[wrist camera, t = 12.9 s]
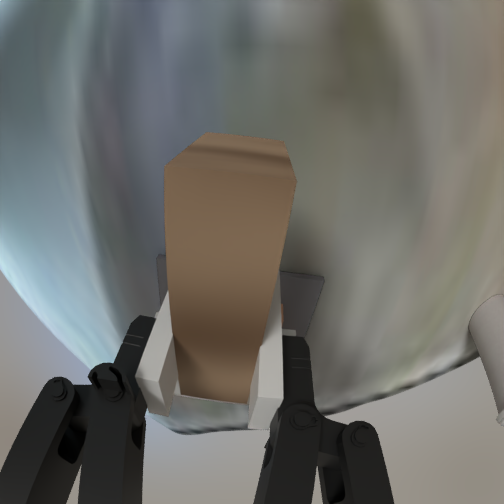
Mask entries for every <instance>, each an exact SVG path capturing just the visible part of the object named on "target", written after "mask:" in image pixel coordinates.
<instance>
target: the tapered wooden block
mask: <svg viewBox="0 0 504 504" xmlns="http://www.w3.org/2000/svg"><path fill="white" fill-rule="evenodd" d="M296 182H297V180H296V177H295V174H294V171H293V168H292V165H291V162H290V159H289V155H288V152H287V149H286V146H285V143H284V141H278V140H272V139H264V138H257V137H249V136H240V135H231V134H221V133H209V132H206V133H205V134H204V135H202V136H201V137H200V138H198V139H197V140H196V141H195V142H193V143H192V144H191V145H190V146H188V147H187V148H186V149H185V150H183V151H182V152H181V153H180V154H178V155H177V156H176V157H175V158H174V159H172V160H171V161H170V162H169V163H168V164H166V165H165V166H164V212H165V245H166V265H167V280H168V294H169V305H170V316H171V326H172V334H173V339H174V347H175V355H176V363H177V370H178V379H177V383H176V387H175V391H174V395H179V396H184V397H190V398H196V399H202V400H209V401H216V402H223V403H231V404H240V405H249V402H250V387H251V382H252V378H253V374H254V370H255V366H256V361H257V357H258V353H259V349H260V346H261V345H262V341H263V337H264V332H265V328H266V324H267V320H268V315H269V311H270V306H271V302H272V298H273V293H274V289H275V284H276V280H277V275H278V270H279V266H280V261H281V257H282V252H283V247H284V242H285V237H286V233H287V228H288V223H289V218H290V213H291V208H292V203H293V198H294V193H295V188H296ZM158 314H159V312H156V315H155V317H154V318H157V316H158ZM282 335H287V336H296V330H289V329H282Z"/></svg>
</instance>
